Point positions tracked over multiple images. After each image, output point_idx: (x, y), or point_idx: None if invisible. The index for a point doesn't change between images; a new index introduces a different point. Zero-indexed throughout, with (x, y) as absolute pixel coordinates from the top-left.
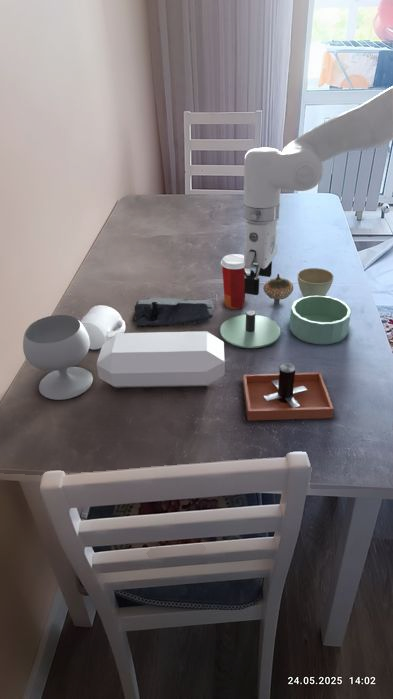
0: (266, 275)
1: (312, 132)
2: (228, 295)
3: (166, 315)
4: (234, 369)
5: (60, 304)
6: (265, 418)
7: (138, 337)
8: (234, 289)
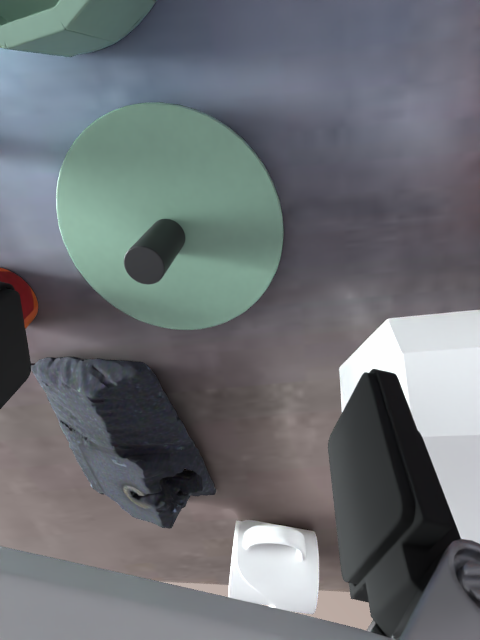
0: (16, 320)
1: None
2: None
3: (176, 463)
4: (403, 262)
5: (163, 580)
6: None
7: None
8: None
